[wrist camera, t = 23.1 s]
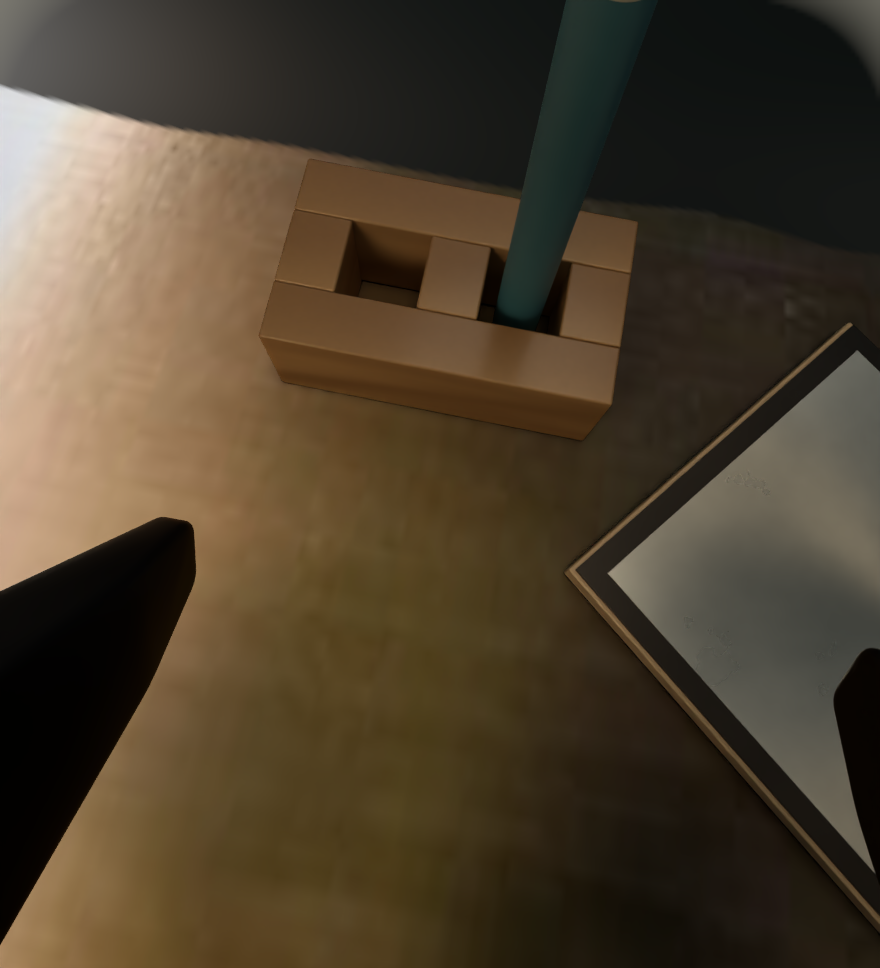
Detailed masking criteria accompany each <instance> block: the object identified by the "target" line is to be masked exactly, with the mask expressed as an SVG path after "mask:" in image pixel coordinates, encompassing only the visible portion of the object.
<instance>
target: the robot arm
mask: <svg viewBox="0 0 880 968" xmlns="http://www.w3.org/2000/svg"><path fill="white" fill-rule="evenodd" d="M195 575H196V560H195V541H194V530H193V527H192V525H191V524H190V523H189V522H188V521H184V520H178V519H173V518H167V517H159V518H156V519H154V520H152V521H150V522H147V523H145V524H143V525H141V526H139V527H137V528H135V529H132V530H130V531H128V532H126V533H124V534H122V535H120V536H118V537H115V538H113V539H111V540H109V541H107V542H105V543H103V544H100V545H98V546H96V547H94V548H92V549H90V550H88V551H85V552H83V553H81V554H79V555H77V556H75V557H73V558H71V559H68V560H66V561H64V562H62V563H60V564H58V565H56V566H53V567H51V568H49V569H47V570H45V571H43V572H41V573H38V574H36V575H34V576H32V577H30V578H28V579H26V580H23V581H21V582H19V583H17V584H15V585H13V586H11V587H9V588H6V589H4V590H2V591H0V945H1V943H2V941H3V939H4V938H5V936H6V934H7V932H8V931H9V929H10V927H11V925H12V924H13V922H14V920H15V919H16V917H17V915H18V913H19V912H20V910H21V908H22V906H23V905H24V903H25V901H26V899H27V898H28V896H29V894H30V893H31V891H32V889H33V887H34V886H35V884H36V882H37V880H38V879H39V877H40V875H41V874H42V872H43V870H44V868H45V867H46V865H47V863H48V861H49V860H50V858H51V856H52V854H53V853H54V851H55V849H56V848H57V846H58V844H59V842H60V841H61V839H62V837H63V835H64V834H65V832H66V830H67V828H68V827H69V825H70V823H71V822H72V820H73V818H74V816H75V815H76V813H77V811H78V809H79V808H80V806H81V804H82V802H83V801H84V799H85V797H86V796H87V794H88V792H89V790H90V789H91V787H92V785H93V783H94V782H95V780H96V778H97V776H98V775H99V773H100V771H101V770H102V768H103V766H104V764H105V763H106V761H107V759H108V757H109V756H110V754H111V752H112V750H113V749H114V747H115V745H116V744H117V742H118V740H119V738H120V737H121V735H122V733H123V731H124V730H125V728H126V726H127V724H128V723H129V721H130V719H131V718H132V716H133V714H134V712H135V711H136V709H137V707H138V705H139V704H140V702H141V700H142V698H143V696H144V695H145V693H146V691H147V689H148V687H149V685H150V683H151V681H152V679H153V677H154V675H155V673H156V670H157V668H158V666H159V664H160V661H161V659H162V657H163V654H164V652H165V650H166V647H167V645H168V643H169V640H170V638H171V636H172V634H173V631H174V629H175V627H176V624H177V622H178V620H179V617H180V615H181V613H182V610H183V608H184V606H185V603H186V601H187V599H188V596H189V594H190V592H191V590H192V587H193V584H194V581H195ZM833 706H834V712H835V716H836V721H837V726H838V730H839V735H840V740H841V745H842V749H843V754H844V759H845V763H846V768H847V773H848V777H849V782H850V787H851V791H852V796H853V800H854V804H855V809H856V813H857V817H858V820H859V823H860V827H861V830H862V834H863V837H864V840H865V843H866V846H867V849H868V852H869V855H870V858H871V861H872V865H873V868H874V871H875V874H876V877H877V880H878V883H879V886H880V649H878V648H866V649H864V650H863V651H861V652H860V653H859V654H858V656H857V657H856V659H855V660H854V662H853V663H852V665H851V666H850V668H849V669H848V671H847V672H846V674H845V675H844V677H843V678H842V680H841V681H840V683H839V684H838V686H837V688H836V690H835V693H834V698H833Z"/></svg>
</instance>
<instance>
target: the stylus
mask: <svg viewBox="0 0 880 968" xmlns="http://www.w3.org/2000/svg"><path fill="white" fill-rule="evenodd" d="M657 1H658V0H566V3H565V8H564V12H563V16H562V21H561V25H560V30H559V34H558V38H557V42H556V47H555V51H554V56H553V61H552V64H551V69H550V73H549V78H548V82H547V86H546V90H545V95H544V99H543V103H542V108H541V113H540V117H539V121H538V126H537V130H536V134H535V138H534V143H533V147H532V152H531V156H530V160H529V165H528V169H527V173H526V178H525V182H524V186H523V191H522V195H521V199H520V204H519V208H518V213H517V217H516V221H515V226H514V230H513V234H512V239H511V243H510V247H509V252H508V256H507V261H506V265H505V269H504V274H503V278H502V282H501V287H500V291H499V295H498V300H497V304H496V309H495V313H494V317H493V322H492V323H493V324H498V325H503V326H508V327H513V328H518V329H524V330H529V331H534V332H535V330H536V327H537V324H538V322H539V319H540V316H541V314H542V311H543V308H544V306H545V303H546V300H547V297H548V295H549V292H550V289H551V287H552V284H553V281H554V279H555V276H556V273H557V271H558V268H559V265H560V262H561V260H562V257H563V254H564V252H565V249H566V246H567V244H568V241H569V238H570V235H571V233H572V230H573V227H574V225H575V222H576V219H577V217H578V214H579V211H580V209H581V206H582V203H583V200H584V198H585V195H586V192H587V190H588V187H589V184H590V181H591V179H592V176H593V173H594V171H595V168H596V165H597V163H598V160H599V157H600V155H601V152H602V149H603V147H604V144H605V141H606V138H607V136H608V133H609V130H610V128H611V125H612V122H613V119H614V117H615V114H616V112H617V109H618V106H619V103H620V101H621V98H622V95H623V93H624V90H625V87H626V85H627V82H628V79H629V76H630V74H631V71H632V68H633V66H634V63H635V60H636V58H637V55H638V52H639V49H640V47H641V44H642V41H643V39H644V36H645V33H646V31H647V28H648V25H649V23H650V20H651V17H652V14H653V12H654V9H655V6H656V4H657Z"/></svg>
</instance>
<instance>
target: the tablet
mask: <svg viewBox="0 0 880 968" xmlns="http://www.w3.org/2000/svg"><path fill="white" fill-rule="evenodd" d="M564 573H565V575H566V576H567V577H568V578H569V579H570V580H571V582H572V583H573V584H574V585H575V586H576V587H577V588H578V590H579V591H580V592H581V593H582V594H583V595H584V596H585V598H586V599H587V600H588V601H589V602H590V603H591V604H592V606H593V607H594V608H595V609H596V610H597V611H598V612H599V614H600V615H601V616H602V617H603V618H604V619H605V620H606V622H607V623H608V624H609V625H610V626H611V627H612V628H613V630H614V631H615V632H616V633H617V634H618V635H619V636H620V638H621V639H622V640H623V641H624V642H625V643H626V644H627V645H628V647H629V648H630V649H631V650H632V651H633V652H634V653H635V655H636V656H637V657H638V658H639V659H640V660H641V661H642V663H643V664H644V665H645V666H646V667H647V668H648V669H649V671H650V672H651V673H652V674H653V675H654V676H655V677H656V679H657V680H658V681H659V682H660V683H661V684H662V685H663V687H664V688H665V689H666V690H667V691H668V692H669V693H670V695H671V696H672V697H673V698H674V699H675V700H676V701H677V703H678V704H679V705H680V706H681V707H682V708H683V709H684V711H685V712H686V713H687V714H688V715H689V716H690V717H691V719H692V720H693V721H694V722H695V723H696V724H697V725H698V727H699V728H700V729H701V730H702V731H703V732H704V733H705V735H706V736H707V737H708V738H709V739H710V740H711V741H712V743H713V744H714V745H715V746H716V747H717V748H718V749H719V751H720V752H721V753H722V754H723V755H724V756H725V757H726V759H727V760H728V761H729V762H730V763H731V764H732V765H733V767H734V768H735V769H736V770H737V771H738V772H739V773H740V775H741V776H742V777H743V778H744V779H745V780H746V781H747V783H748V784H749V785H750V786H751V787H752V788H753V789H754V791H755V792H756V793H757V794H758V795H759V796H760V797H761V799H762V800H763V801H764V802H765V803H766V804H767V805H768V807H769V808H770V809H771V810H772V811H773V812H774V813H775V815H776V816H777V817H778V818H779V819H780V820H781V821H782V823H783V824H784V825H785V826H786V827H787V828H788V829H789V831H790V832H791V833H792V834H793V835H794V836H795V837H796V839H797V840H798V841H799V842H800V843H801V844H802V845H803V846H804V848H805V849H806V850H807V851H808V852H809V853H810V854H811V856H812V857H813V858H814V859H815V860H816V861H817V862H818V864H819V865H820V866H821V867H822V868H823V869H824V870H825V872H826V873H827V874H828V875H829V876H830V877H831V878H832V880H833V881H834V882H835V883H836V884H837V885H838V886H839V888H840V889H841V890H842V891H843V892H844V893H845V894H846V896H847V897H848V898H849V899H850V900H851V901H852V902H853V904H854V905H855V906H856V907H857V908H858V909H859V910H860V912H861V913H862V914H863V915H864V916H865V917H866V918H867V920H868V921H869V922H870V923H871V924H872V925H873V926H874V928H875V929H876V930H877V931H878V932H879V933H880V886H879V883H878V880H877V877H876V874H875V871H874V868H873V865H872V861H871V858H870V855H869V852H868V849H867V846H866V843H865V840H864V837H863V834H862V830H861V827H860V823H859V820H858V817H857V813H856V809H855V804H854V800H853V796H852V791H851V787H850V782H849V777H848V773H847V768H846V763H845V759H844V754H843V749H842V745H841V740H840V735H839V730H838V726H837V721H836V716H835V712H834V706H833V698H834V693H835V690H836V688H837V686H838V684H839V683H840V681H841V680H842V678H843V677H844V675H845V674H846V672H847V671H848V669H849V668H850V666H851V665H852V663H853V662H854V660H855V659H856V657H857V656H858V654H859V653H860V652H861V651H863V650H864V649H866V648H878V649H880V350H879V349H878V348H877V347H876V346H875V345H874V344H873V343H872V342H871V341H870V340H869V339H868V338H867V337H866V336H865V335H864V334H863V333H862V332H861V331H859V330H858V329H857V328H856V327H855V326H854V325H852V324H851V323H847V324H846V325H845V326H843V327H842V328H841V329H839V330H838V331H837V332H835V333H834V334H833V335H832V336H831V337H830V338H829V339H827V340H826V341H825V342H824V343H823V344H822V345H821V346H819V347H818V348H817V349H816V350H815V351H814V352H813V353H812V354H810V355H809V356H808V357H807V358H806V359H805V360H804V361H802V362H801V363H800V364H799V365H798V366H797V367H796V368H794V369H793V370H792V371H791V372H790V373H789V374H788V375H786V376H785V377H784V378H783V379H782V380H781V381H780V382H779V383H777V384H776V385H775V386H774V387H773V388H772V389H771V390H769V391H768V392H767V393H766V394H765V395H764V396H763V397H761V398H760V399H759V400H758V401H757V402H756V403H755V404H753V405H752V406H751V407H750V408H749V409H748V410H747V411H746V412H744V413H743V414H742V415H741V416H740V417H739V418H738V419H736V420H735V421H734V422H733V423H732V424H731V425H730V426H728V427H727V428H726V429H725V430H724V431H723V432H722V433H720V434H719V435H718V436H717V437H716V438H715V439H714V440H713V441H711V442H710V443H709V444H708V445H707V446H706V447H705V448H703V449H702V450H701V451H700V452H699V453H698V454H697V455H695V456H694V457H693V458H692V459H691V460H690V461H689V462H687V463H686V464H685V465H684V466H683V467H682V468H681V469H680V470H678V471H677V472H676V473H675V474H674V475H673V476H672V477H670V478H669V479H668V480H667V481H666V482H665V483H664V484H662V485H661V486H660V487H659V488H658V489H657V490H656V491H654V492H653V493H652V494H651V495H650V496H649V497H648V498H647V499H645V500H644V501H643V502H642V503H641V504H640V505H639V506H637V507H636V508H635V509H634V510H633V511H632V512H631V513H629V514H628V515H627V516H626V517H625V518H624V519H623V520H621V521H620V522H619V523H618V524H617V525H616V526H615V527H614V528H612V529H611V530H610V531H609V532H608V533H607V534H606V535H604V536H603V537H602V538H601V539H600V540H599V541H598V542H596V543H595V544H594V545H593V546H592V547H591V548H590V549H588V550H587V551H586V552H585V553H584V554H583V555H582V556H581V557H579V558H578V559H577V560H576V561H575V562H574V563H573V564H571V565H570V566H569V567H568V568H567V569H566V570H565V571H564Z"/></svg>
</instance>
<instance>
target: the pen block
mask: <svg viewBox="0 0 880 968" xmlns="http://www.w3.org/2000/svg"><path fill="white" fill-rule="evenodd" d="M519 204H520V199H517V198H512V197H507V196H502V195H496V194H491V193H486V192H481V191H475V190H470V189H465V188H460V187H455V186H449V185H444V184H439V183H434V182H429V181H423V180H418V179H413V178H408V177H403V176H397V175H392V174H387V173H382V172H377V171H371V170H366V169H361V168H356V167H351V166H345V165H340V164H335V163H330V162H325V161H319V160H314V159H309V160H308V162H307V166H306V169H305V173H304V176H303V180H302V183H301V187H300V191H299V194H298V198H297V201H296V205H295V210H294V212H293V216H292V219H291V223H290V226H289V230H288V233H287V237H286V240H285V244H284V248H283V251H282V255H281V258H280V262H279V265H278V269H277V272H276V276H275V281H274V283H273V286H272V290H271V293H270V297H269V300H268V304H267V308H266V311H265V315H264V318H263V322H262V325H261V329H260V332H259V337H260V339H261V341H262V343H263V345H264V347H265V349H266V351H267V353H268V355H269V357H270V359H271V361H272V363H273V364H274V366H275V368H276V370H277V372H278V374H279V376H280V378H281V380H282V381H283V382H287V383H292V384H297V385H302V386H307V387H312V388H317V389H322V390H327V391H332V392H338V393H343V394H348V395H353V396H358V397H363V398H368V399H373V400H378V401H383V402H388V403H393V404H398V405H403V406H409V407H414V408H419V409H424V410H429V411H434V412H439V413H444V414H449V415H454V416H459V417H464V418H469V419H474V420H479V421H485V422H490V423H495V424H500V425H505V426H510V427H515V428H520V429H525V430H530V431H535V432H540V433H545V434H550V435H556V436H561V437H566V438H571V439H576V440H581V441H582V440H584V439H585V438H586V436H587V435H588V434H589V433H590V431H591V430H592V429H593V428H594V426H595V425H596V424H597V423H598V421H599V420H600V419H601V418H602V416H603V415H604V414H605V413H606V411H607V410H608V409H609V408H610V406H611V405H612V402H613V395H614V388H615V381H616V374H617V367H618V360H619V354H620V349H619V348H620V346H621V340H622V333H623V326H624V320H625V313H626V306H627V299H628V292H629V285H630V278H631V276H630V274H631V271H632V264H633V257H634V250H635V243H636V237H637V230H638V222H637V221H632V220H626V219H621V218H616V217H611V216H606V215H600V214H595V213H590V212H585V211H579V214H578V217H577V219H576V222H575V225H574V227H573V230H572V233H571V235H570V238H569V241H568V244H567V246H566V249H565V252H564V254H563V257H562V260H561V262H560V265H559V268H558V271H557V273H556V276H555V279H554V281H553V284H552V287H551V289H550V292H549V295H548V297H547V300H546V303H545V306H544V308H543V311H542V314H541V315H545V316H550V319H549V325H548V330H547V334H544V333H539V332H534V331H529V330H524V329H518V328H513V327H508V326H503V325H498V324H493V323H488V322H483V321H478V318H479V313H480V308H481V303H484V304H489V305H494V306H496V304H497V300H498V295H499V291H500V287H501V282H502V278H503V274H504V269H505V265H506V261H507V256H508V252H509V247H510V243H511V239H512V234H513V230H514V226H515V221H516V217H517V213H518V208H519ZM361 280H366V281H371V282H376V283H381V284H386V285H391V286H396V287H402V288H407V289H412V290H417V291H420V293H419V297H418V302H417V306H416V308H411V307H406V306H401V305H395V304H390V303H385V302H380V301H375V300H370V299H365V298H360V297H358V294H359V290H360V286H361Z"/></svg>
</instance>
